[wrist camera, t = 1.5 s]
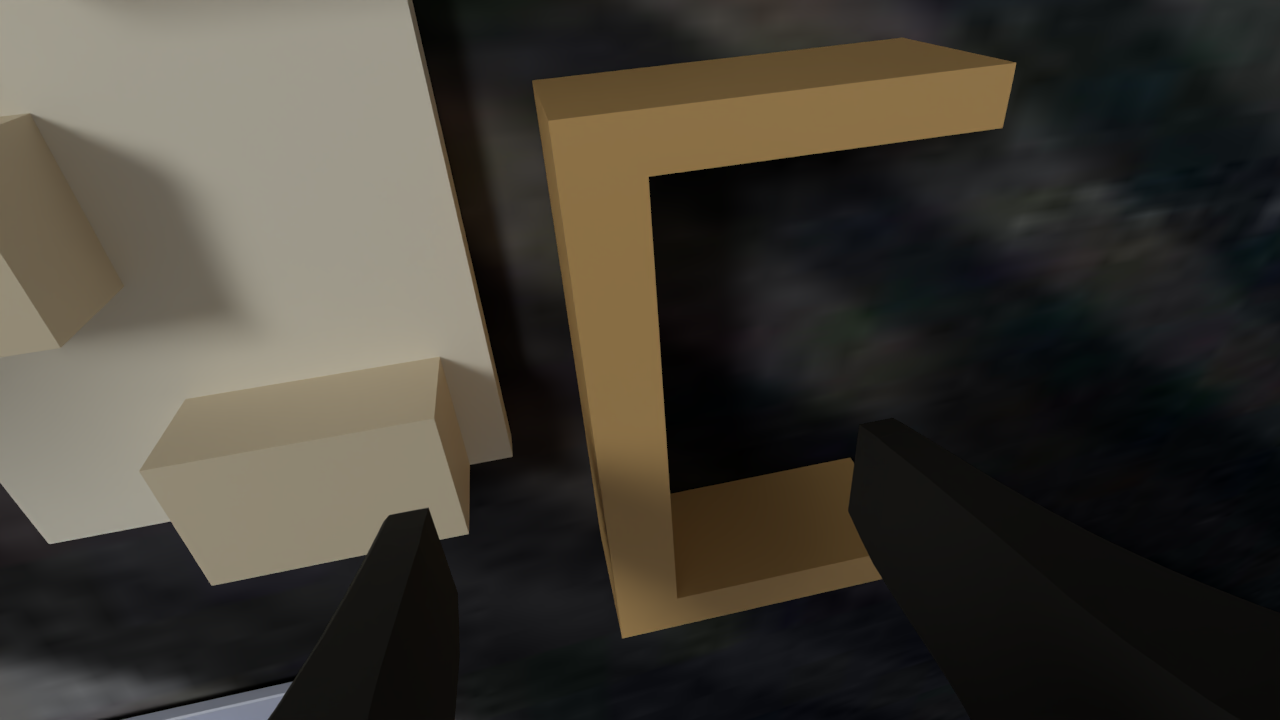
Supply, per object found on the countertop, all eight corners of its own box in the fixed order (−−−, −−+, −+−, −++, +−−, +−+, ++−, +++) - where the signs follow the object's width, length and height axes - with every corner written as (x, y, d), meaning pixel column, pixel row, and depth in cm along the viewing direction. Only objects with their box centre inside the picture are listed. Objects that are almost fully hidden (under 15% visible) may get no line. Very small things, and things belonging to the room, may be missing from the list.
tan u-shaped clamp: (902, 37, 13) (1016, 62, 11) (846, 483, 20) (908, 573, 17) (532, 80, 12) (548, 120, 10) (600, 534, 19) (622, 638, 16)
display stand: (324, -384, 9) (264, -512, 6) (511, 436, 16) (517, 524, 14) (-591, -362, 8) (-1114, -513, 5) (67, 518, 15) (-13, 630, 13)
